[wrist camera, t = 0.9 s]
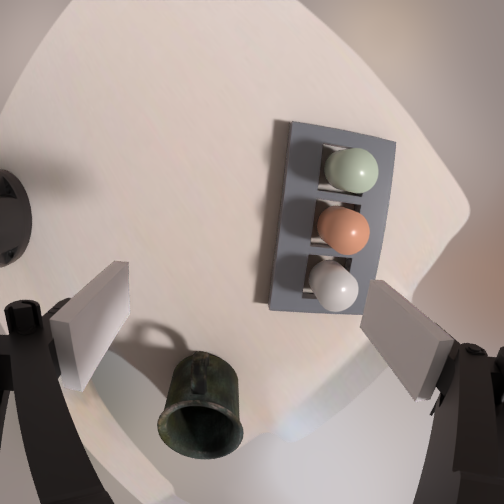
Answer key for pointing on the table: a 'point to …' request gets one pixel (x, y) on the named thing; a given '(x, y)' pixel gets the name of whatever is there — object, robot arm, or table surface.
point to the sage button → (351, 170)
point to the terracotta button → (343, 229)
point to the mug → (202, 409)
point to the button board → (303, 209)
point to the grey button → (333, 285)
